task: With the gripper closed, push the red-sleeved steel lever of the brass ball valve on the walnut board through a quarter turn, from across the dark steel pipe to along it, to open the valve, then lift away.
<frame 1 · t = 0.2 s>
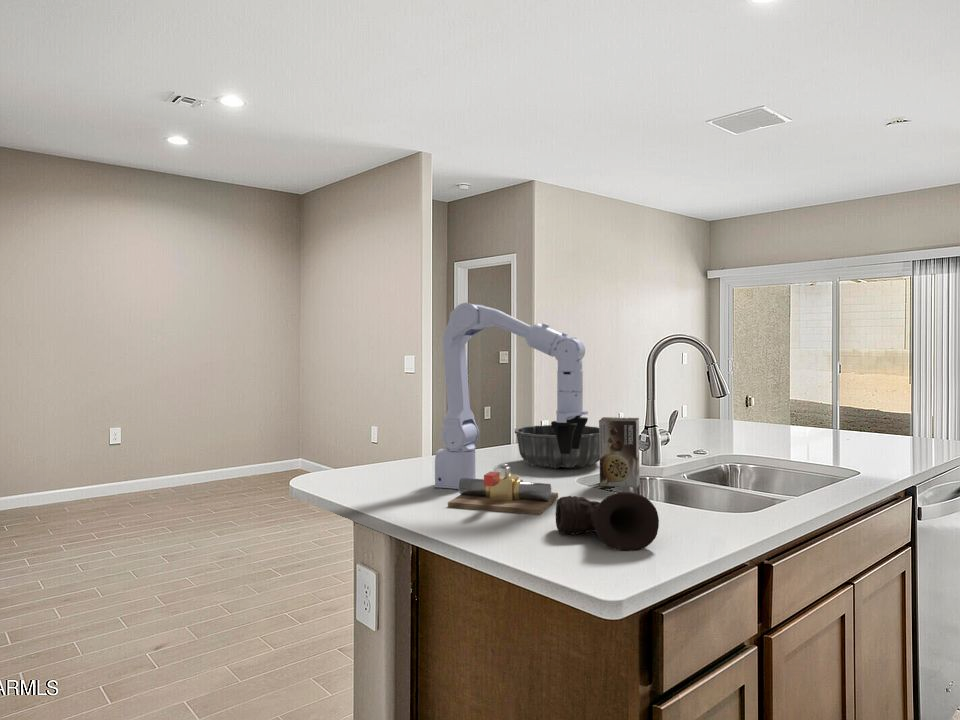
hand: (569, 451, 154), 10 cm above the countertop, tool pointing down, fingers open, 7 cm apart
valve body: (504, 501, 148), resting on mount board
valve lever: (497, 474, 143), point 7 cm above the countertop, hinge at 0.0°
coffee box: (619, 485, 165), on the countertop
pipe: (604, 540, 120), on the countertop
bundt pan: (560, 464, 193), on the countertop
mount board: (504, 501, 148), on the countertop
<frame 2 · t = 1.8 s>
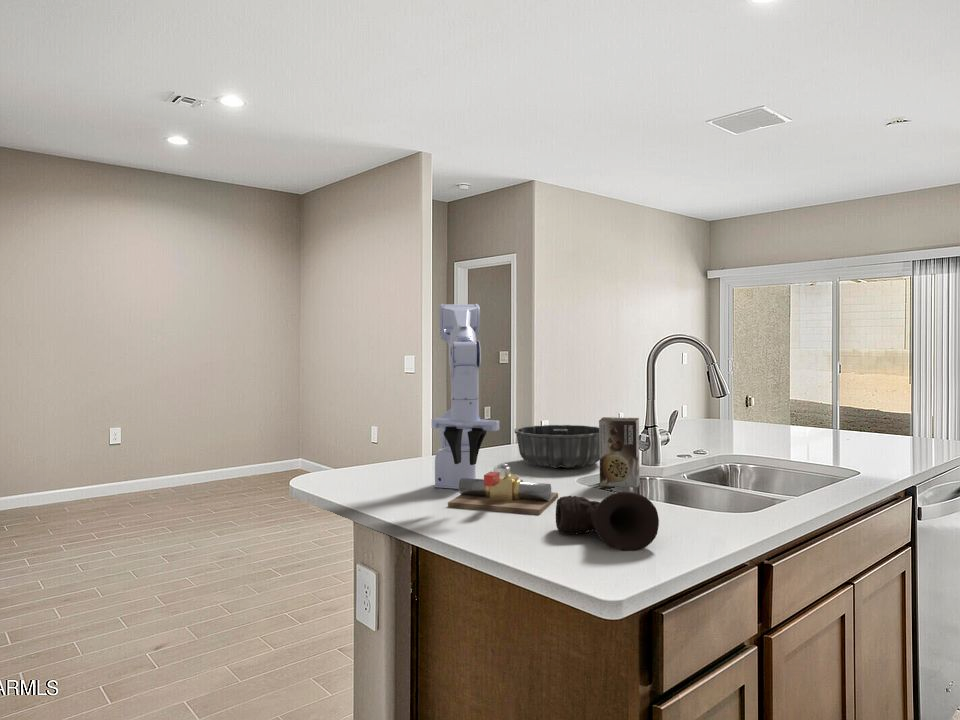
hand: (465, 463, 142), 9 cm above the countertop, tool pointing down, fingers open, 3 cm apart
nothing on the countertop moved.
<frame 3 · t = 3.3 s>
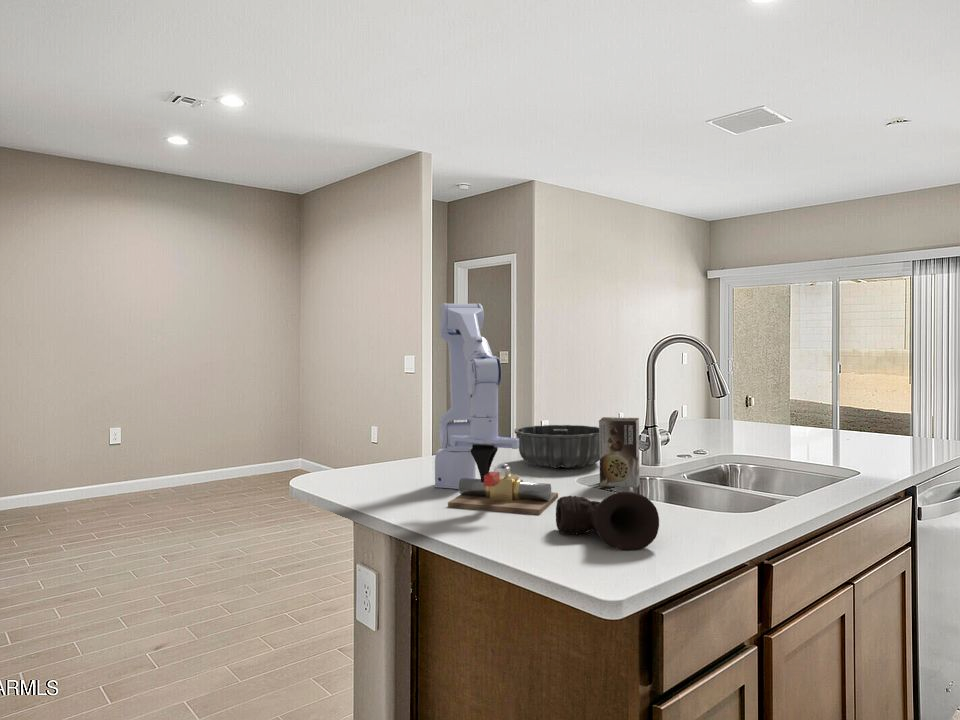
hand: (484, 481, 141), 6 cm above the countertop, tool pointing down, fingers closed
valve lever: (497, 474, 143), point 7 cm above the countertop, hinge at 0.0°, touching gripper
everything else where it was.
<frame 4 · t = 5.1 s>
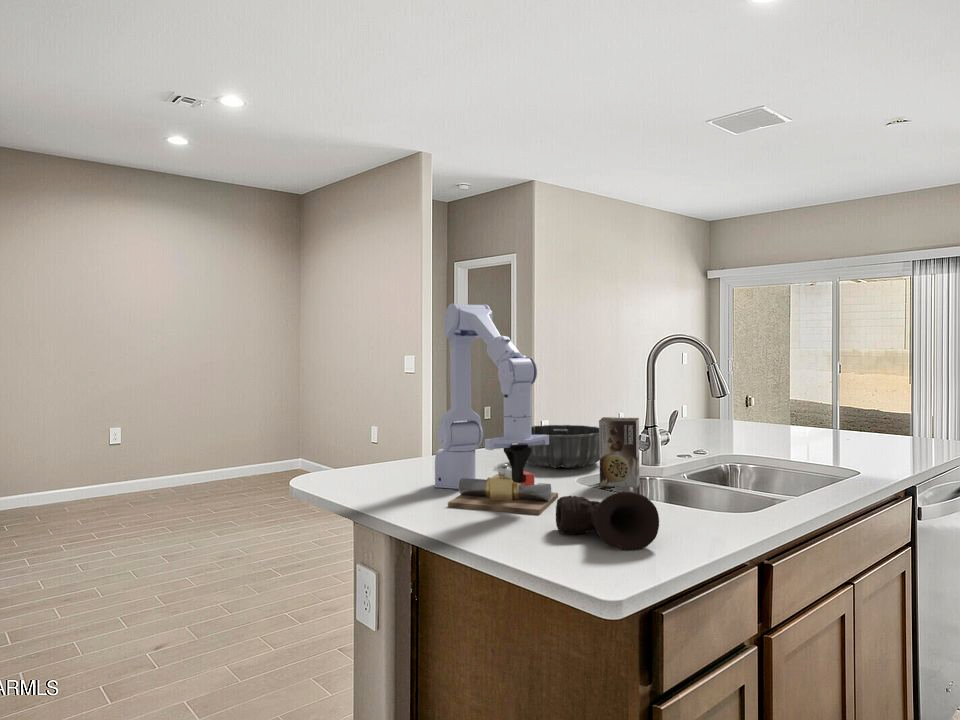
hand: (517, 481, 140), 6 cm above the countertop, tool pointing down, fingers closed, pressing on valve lever
valve lever: (515, 474, 143), point 7 cm above the countertop, hinge at 47.9°, touching gripper
everything else where it was.
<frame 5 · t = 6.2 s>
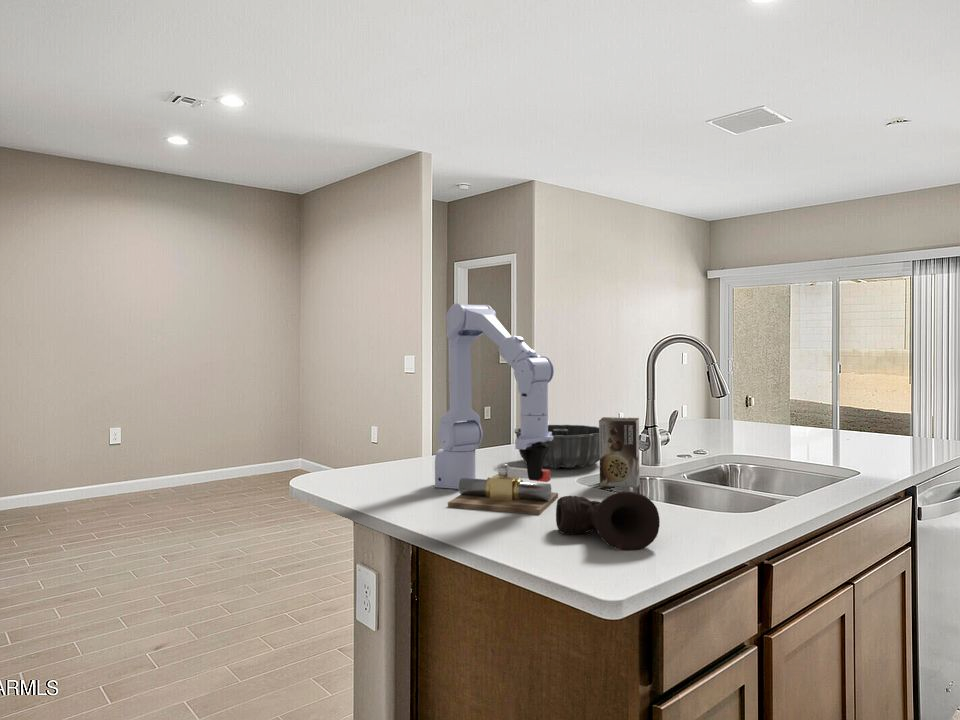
hand: (534, 479, 142), 6 cm above the countertop, tool pointing down, fingers closed, pressing on valve lever
valve lever: (523, 472, 145), point 7 cm above the countertop, hinge at 79.3°, touching gripper
everything else where it was.
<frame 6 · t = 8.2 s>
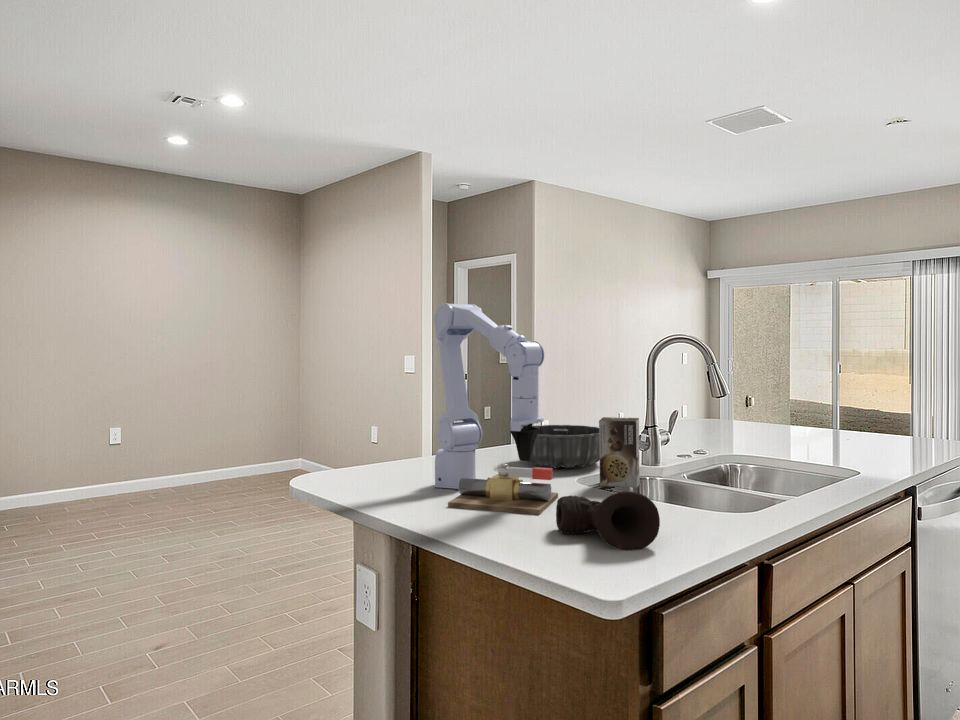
hand: (525, 460, 146), 9 cm above the countertop, tool pointing down, fingers closed
valve lever: (524, 471, 146), point 7 cm above the countertop, hinge at 90.9°
everything else where it was.
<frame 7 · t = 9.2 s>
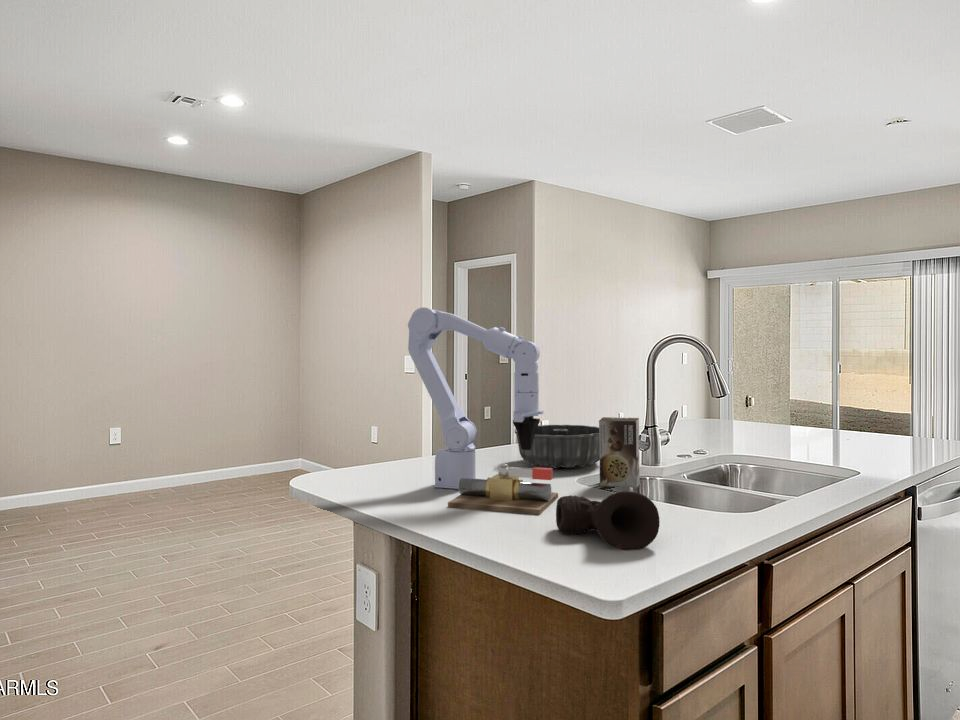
hand: (526, 449, 160), 9 cm above the countertop, tool pointing down, fingers closed
nothing on the countertop moved.
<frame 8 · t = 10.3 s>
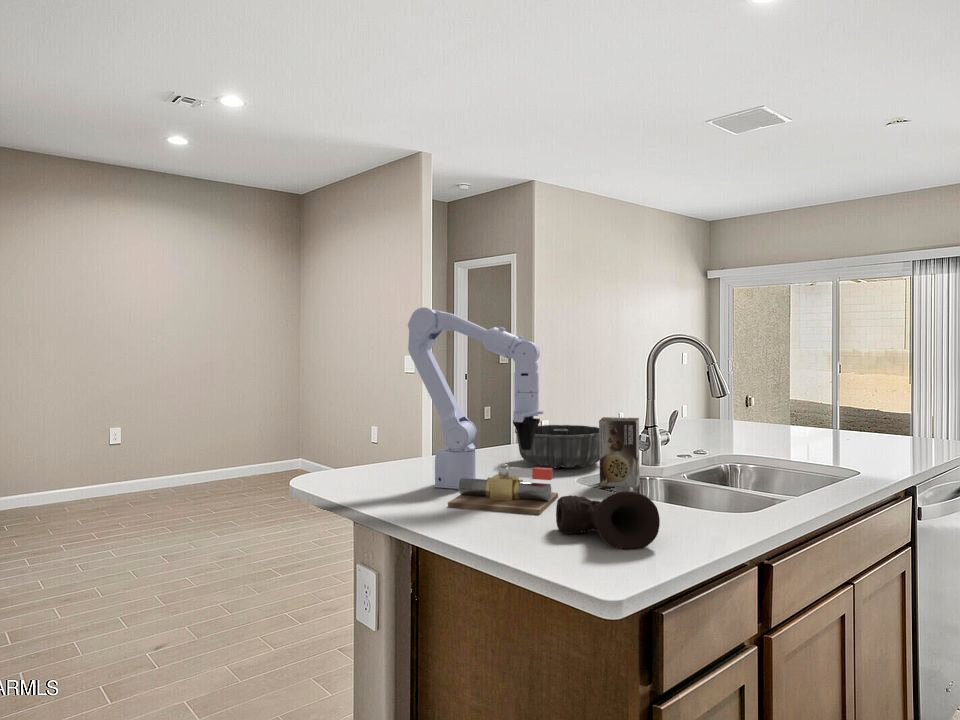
hand: (526, 449, 160), 9 cm above the countertop, tool pointing down, fingers closed
nothing on the countertop moved.
at the end: valve lever at +91° (first picture: +0°) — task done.
